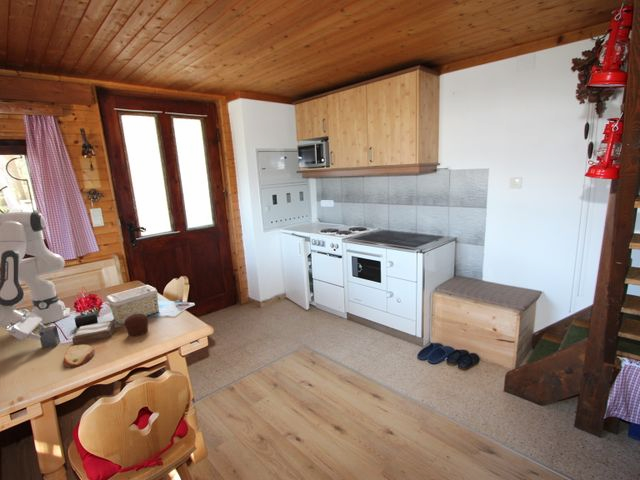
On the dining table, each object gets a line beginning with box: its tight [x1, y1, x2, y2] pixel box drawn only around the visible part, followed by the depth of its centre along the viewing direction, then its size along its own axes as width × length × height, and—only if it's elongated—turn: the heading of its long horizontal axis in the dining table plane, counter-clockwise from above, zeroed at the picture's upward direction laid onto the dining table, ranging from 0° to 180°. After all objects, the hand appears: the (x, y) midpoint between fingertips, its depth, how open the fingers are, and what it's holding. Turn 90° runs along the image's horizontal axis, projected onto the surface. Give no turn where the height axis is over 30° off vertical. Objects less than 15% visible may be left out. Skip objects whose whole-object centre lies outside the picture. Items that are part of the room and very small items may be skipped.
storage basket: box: [106, 284, 160, 325], centre depth 199 cm, size 24×16×15 cm
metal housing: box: [37, 325, 61, 350], centre depth 169 cm, size 5×6×9 cm
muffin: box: [123, 313, 150, 338], centre depth 176 cm, size 12×11×10 cm
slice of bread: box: [63, 344, 95, 369], centre depth 156 cm, size 18×18×4 cm
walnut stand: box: [71, 319, 116, 346], centre depth 176 cm, size 14×16×5 cm
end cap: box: [74, 311, 99, 329], centre depth 190 cm, size 10×7×7 cm
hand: (43, 334), depth 167 cm, fingers open, 8 cm apart
